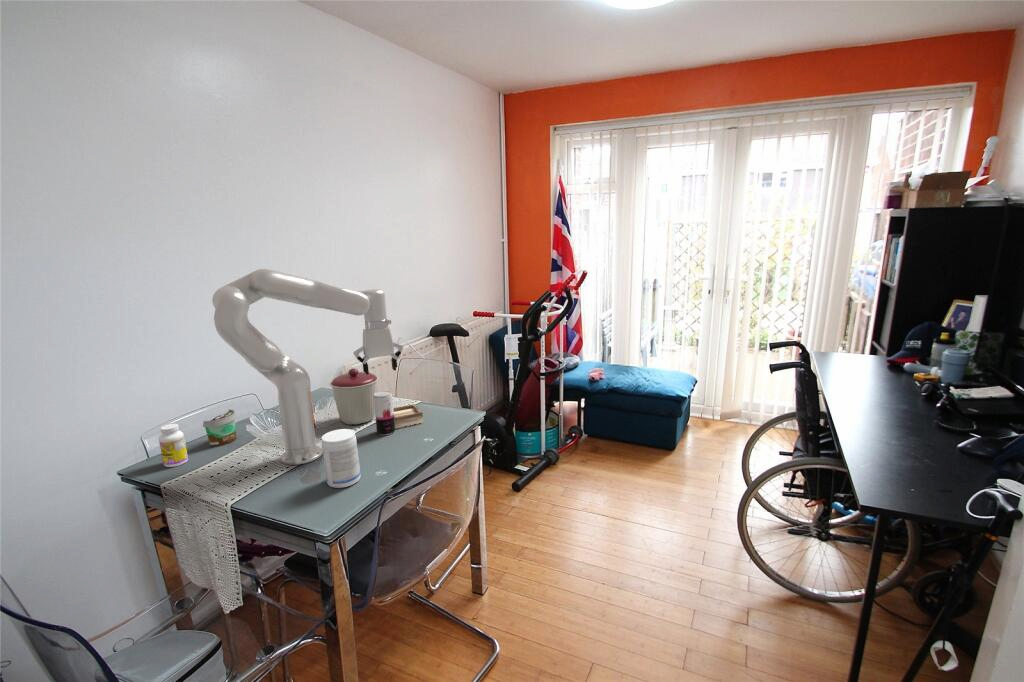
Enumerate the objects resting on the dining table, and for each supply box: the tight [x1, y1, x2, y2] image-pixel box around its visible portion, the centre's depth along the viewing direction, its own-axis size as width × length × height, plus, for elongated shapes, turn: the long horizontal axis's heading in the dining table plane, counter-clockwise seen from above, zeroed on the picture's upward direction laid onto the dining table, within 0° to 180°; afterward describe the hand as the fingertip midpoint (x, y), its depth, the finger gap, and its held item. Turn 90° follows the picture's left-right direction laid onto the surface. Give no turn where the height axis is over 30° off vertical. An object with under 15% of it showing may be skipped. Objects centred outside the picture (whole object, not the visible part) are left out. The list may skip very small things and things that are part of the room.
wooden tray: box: [393, 403, 424, 430], centre depth 184 cm, size 11×11×4 cm
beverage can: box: [374, 390, 396, 436], centre depth 173 cm, size 6×7×15 cm
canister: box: [329, 368, 379, 425], centre depth 185 cm, size 18×18×21 cm
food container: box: [202, 408, 238, 447], centre depth 169 cm, size 12×6×10 cm, turn 168°
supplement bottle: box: [158, 423, 189, 468], centre depth 153 cm, size 7×7×13 cm
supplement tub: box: [320, 428, 362, 489], centre depth 138 cm, size 10×10×15 cm
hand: (380, 371), depth 169 cm, fingers open, 9 cm apart
